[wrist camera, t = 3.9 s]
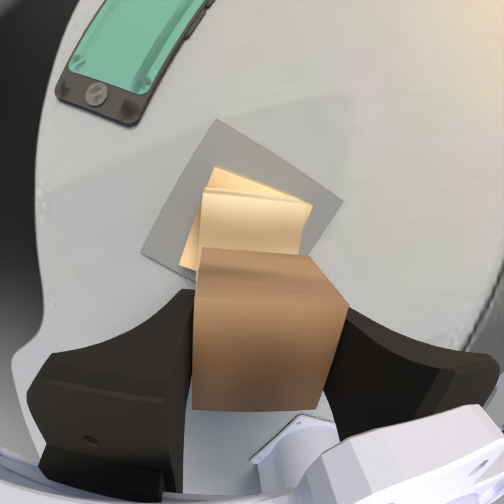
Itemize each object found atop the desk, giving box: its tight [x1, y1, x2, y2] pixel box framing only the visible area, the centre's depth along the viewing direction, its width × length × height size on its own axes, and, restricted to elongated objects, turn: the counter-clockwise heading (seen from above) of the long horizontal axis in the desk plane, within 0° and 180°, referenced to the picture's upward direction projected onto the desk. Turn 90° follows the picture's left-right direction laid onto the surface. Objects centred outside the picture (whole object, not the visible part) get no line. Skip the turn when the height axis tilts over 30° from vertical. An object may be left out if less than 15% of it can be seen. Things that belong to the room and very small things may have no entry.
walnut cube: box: [192, 247, 349, 412], centre depth 11 cm, size 4×4×4 cm
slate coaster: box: [140, 118, 343, 282], centre depth 20 cm, size 10×10×1 cm
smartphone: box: [54, 0, 214, 124], centre depth 15 cm, size 7×1×15 cm
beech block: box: [195, 187, 306, 290], centre depth 16 cm, size 5×5×2 cm
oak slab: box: [179, 165, 313, 271], centre depth 19 cm, size 6×6×2 cm
